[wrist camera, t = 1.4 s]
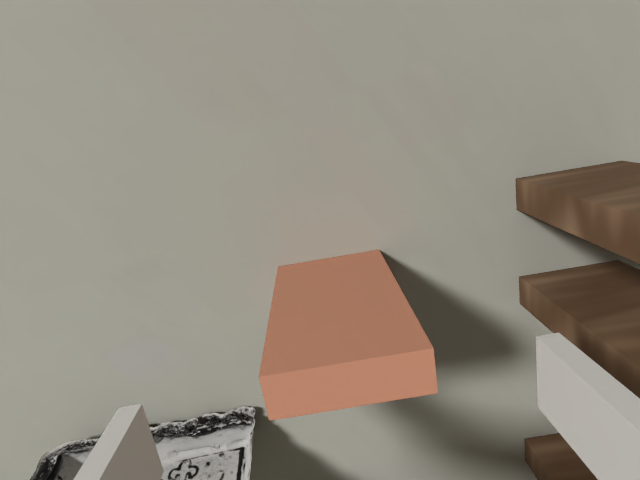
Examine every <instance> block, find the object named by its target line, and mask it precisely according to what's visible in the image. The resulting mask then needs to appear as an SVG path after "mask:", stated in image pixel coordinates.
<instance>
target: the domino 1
mask: <svg viewBox="0 0 640 480" xmlns="http://www.w3.org/2000/svg"><path fill="white" fill-rule="evenodd" d="M259 380H260V384H261V388H262V392H263V396H264V401H265V405H266V409H267V413H268V418H269V421H270V420H276V419H283V418H289V417H295V416H301V415H307V414H313V413H319V412H326V411H332V410H338V409H344V408H350V407H356V406H362V405H369V404H375V403H381V402H387V401H393V400H399V399H405V398H412V397H418V396H424V395H430V394H436V393H438V387H437V377H436V367H435V357H434V348H433V346H432V344H431V343H430V341H429V339H428V337H427V335H426V334H425V332H424V330H423V328H422V326H421V325H420V323H419V321H418V319H417V317H416V315H415V314H414V312H413V310H412V308H411V306H410V305H409V303H408V301H407V299H406V297H405V296H404V294H403V292H402V290H401V288H400V287H399V285H398V283H397V281H396V279H395V277H394V276H393V274H392V272H391V270H390V268H389V267H388V265H387V263H386V261H385V259H384V258H383V256H382V254H381V252H380V250H375V251H369V252H363V253H357V254H351V255H345V256H339V257H333V258H327V259H321V260H315V261H309V262H303V263H297V264H291V265H285V266H279V267H278V270H277V276H276V282H275V287H274V293H273V299H272V304H271V310H270V316H269V322H268V327H267V333H266V339H265V345H264V350H263V356H262V362H261V367H260V373H259Z"/></svg>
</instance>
